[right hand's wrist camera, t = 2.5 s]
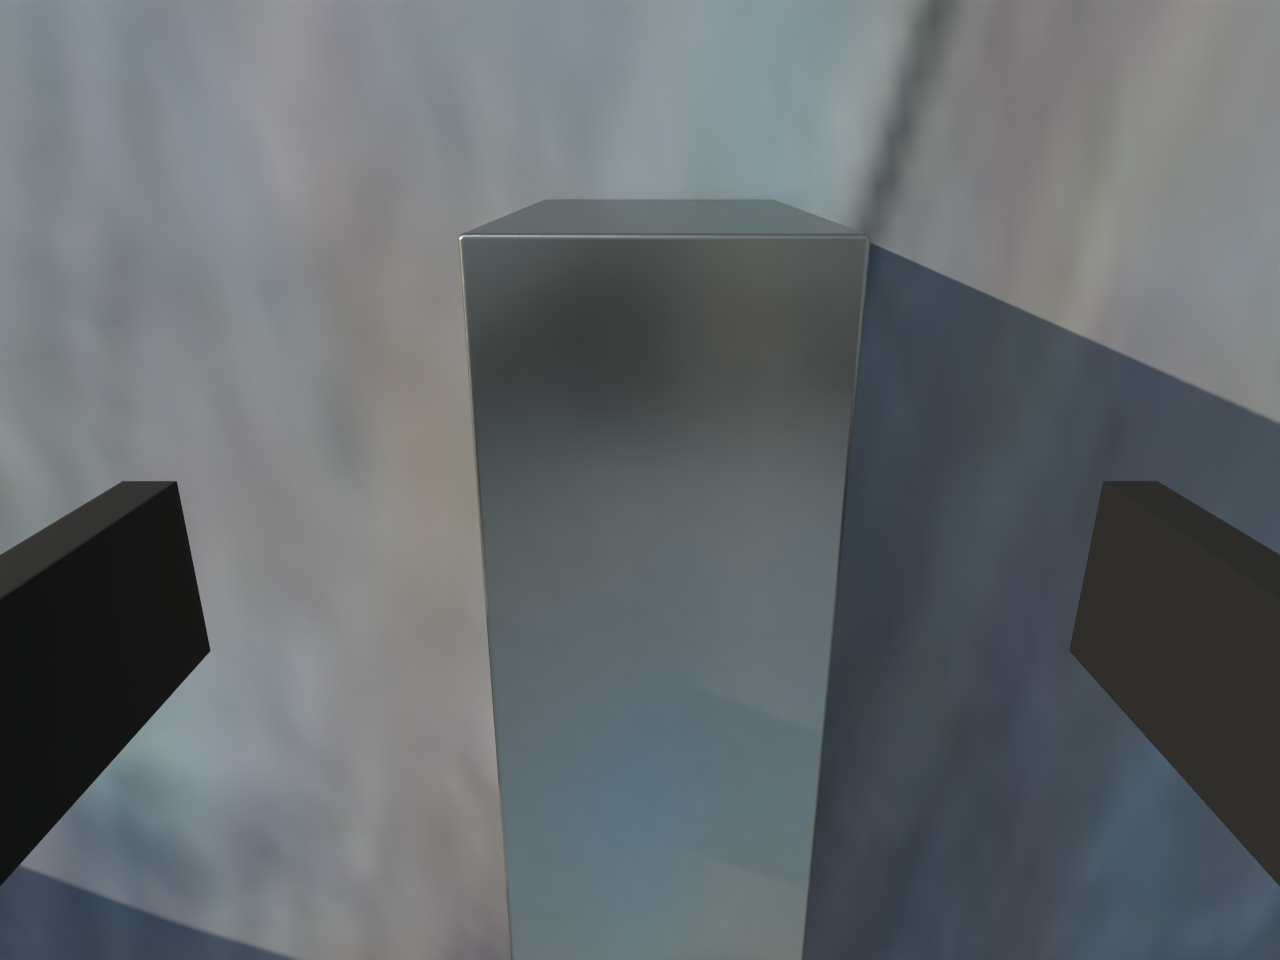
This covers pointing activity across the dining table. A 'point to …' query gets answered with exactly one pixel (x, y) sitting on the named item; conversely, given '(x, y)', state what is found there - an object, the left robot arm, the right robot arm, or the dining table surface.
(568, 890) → the bar
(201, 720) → the dining table surface
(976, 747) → the dining table surface
